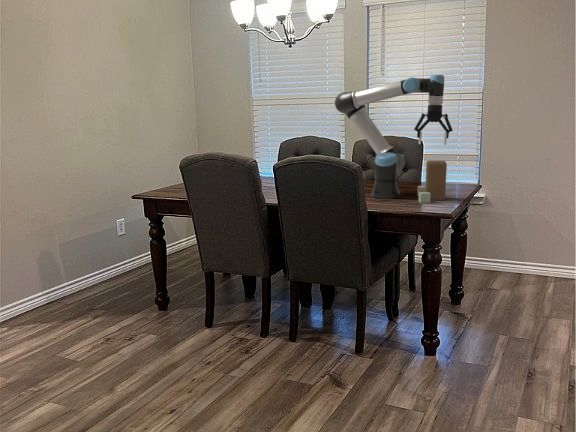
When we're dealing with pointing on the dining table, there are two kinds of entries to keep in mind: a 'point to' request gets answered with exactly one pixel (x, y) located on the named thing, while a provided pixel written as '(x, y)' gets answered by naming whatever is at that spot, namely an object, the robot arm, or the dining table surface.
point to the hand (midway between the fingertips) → (432, 144)
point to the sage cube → (424, 197)
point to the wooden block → (436, 179)
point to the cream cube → (420, 189)
